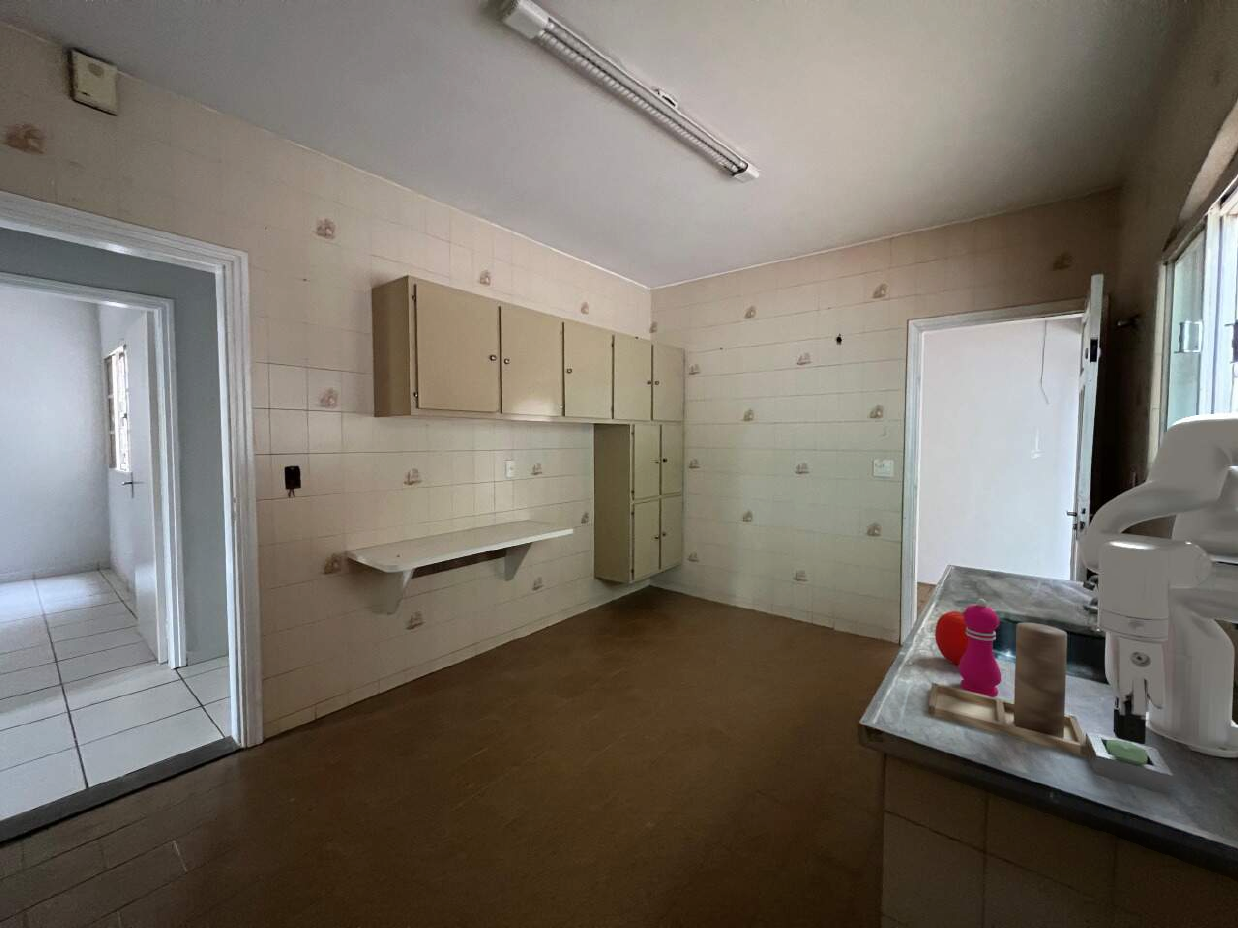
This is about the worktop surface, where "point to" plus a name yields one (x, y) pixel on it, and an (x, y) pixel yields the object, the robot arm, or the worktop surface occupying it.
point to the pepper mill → (980, 651)
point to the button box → (1130, 766)
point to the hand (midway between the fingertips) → (1129, 738)
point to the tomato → (952, 636)
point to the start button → (1126, 751)
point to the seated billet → (1040, 678)
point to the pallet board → (1000, 718)
